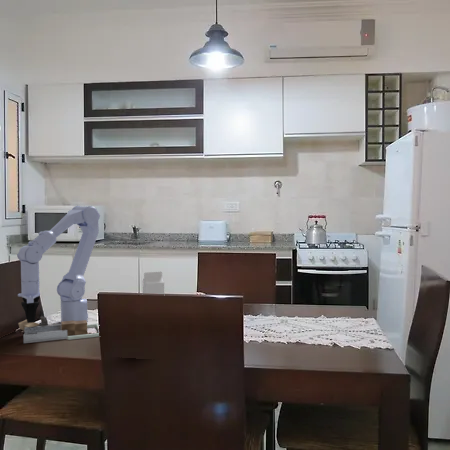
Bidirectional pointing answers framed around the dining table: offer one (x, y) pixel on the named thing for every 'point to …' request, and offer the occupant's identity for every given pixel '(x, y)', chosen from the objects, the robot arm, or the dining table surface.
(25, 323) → the tan block
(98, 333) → the tray
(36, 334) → the silver metal tray
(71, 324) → the walnut block
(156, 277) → the milk
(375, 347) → the dining table surface
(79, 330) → the walnut block
